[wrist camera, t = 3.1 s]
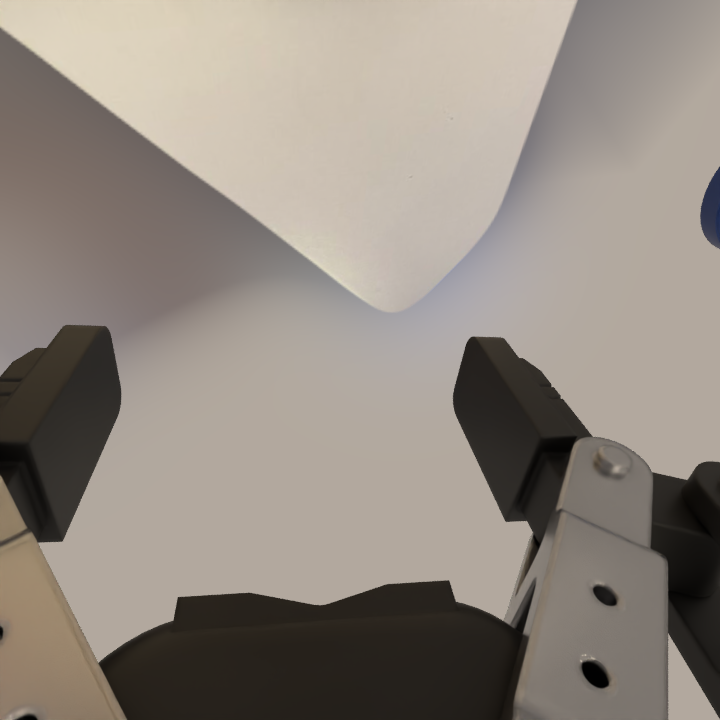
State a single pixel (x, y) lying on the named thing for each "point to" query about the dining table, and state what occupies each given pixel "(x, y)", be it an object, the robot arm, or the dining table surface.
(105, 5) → the dining table surface
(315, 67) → the dining table surface
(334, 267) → the dining table surface
